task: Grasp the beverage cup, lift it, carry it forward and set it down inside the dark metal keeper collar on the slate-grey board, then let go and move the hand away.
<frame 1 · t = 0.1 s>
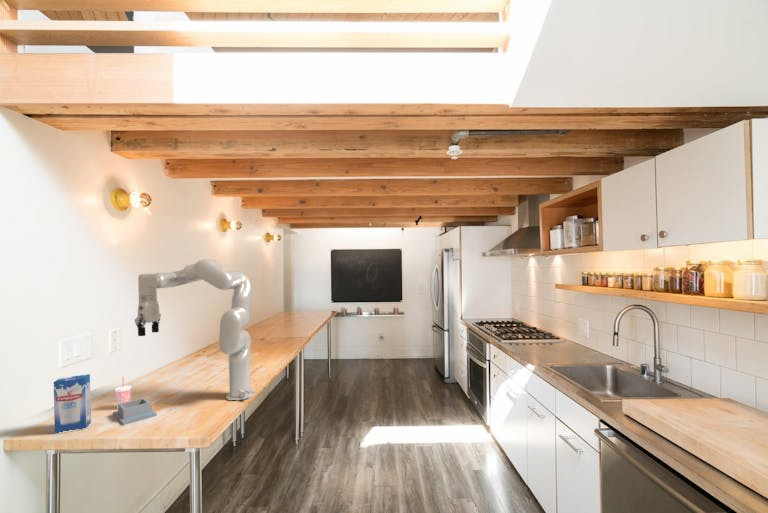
hand: (148, 334, 183), 31 cm above the table, tool pointing down, fingers open, 9 cm apart
beverage cup: (123, 408, 171), on the table
keeper board: (134, 414, 161), on the table
blue white food package: (73, 428, 150), on the table
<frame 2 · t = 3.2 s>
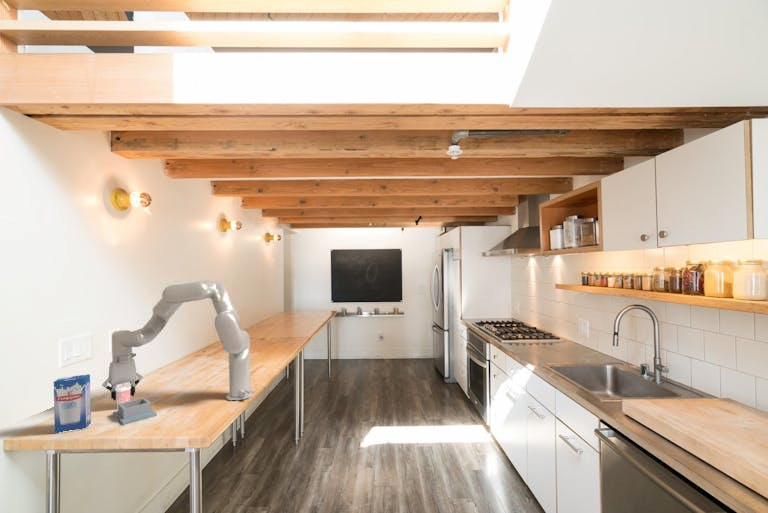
hand: (123, 397, 171), 5 cm above the table, tool pointing down, fingers closed on beverage cup, 6 cm apart
beverage cup: (123, 407, 171), on the table, touching gripper
everything else where it was.
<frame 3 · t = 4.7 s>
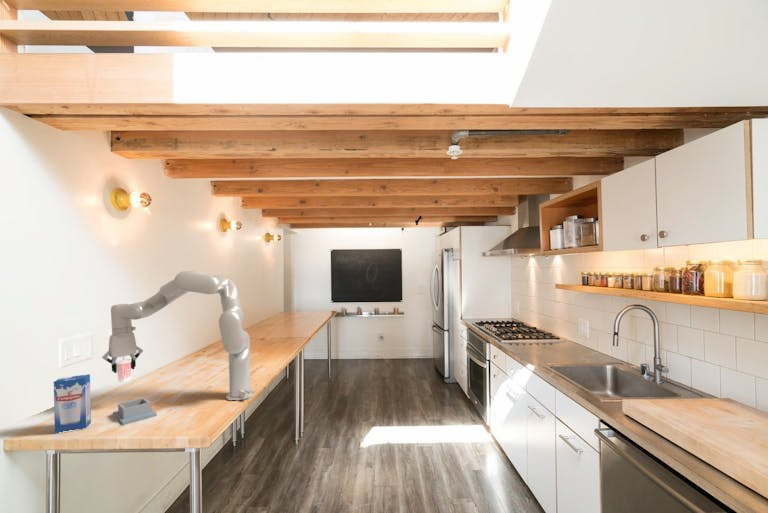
hand: (124, 370, 172), 17 cm above the table, tool pointing down, fingers closed on beverage cup, 6 cm apart
beverage cup: (124, 380, 172), point 12 cm above the table, touching gripper
everything else where it was.
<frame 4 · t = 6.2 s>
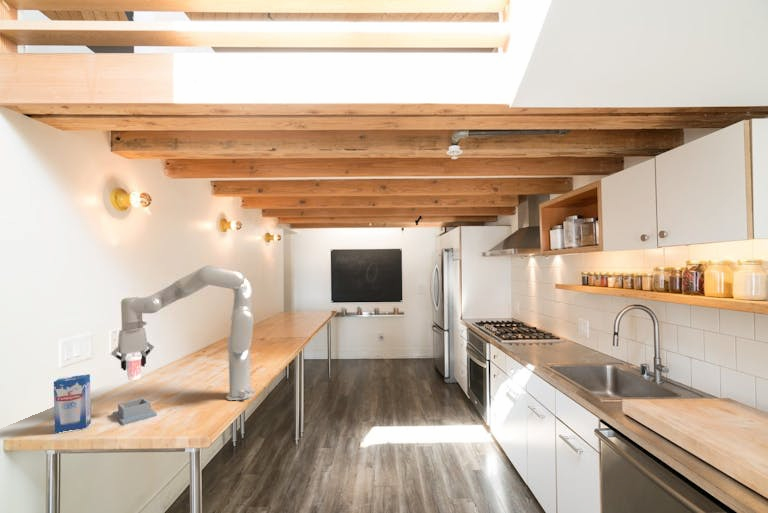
hand: (133, 367, 162), 20 cm above the table, tool pointing down, fingers closed on beverage cup, 6 cm apart
beverage cup: (134, 378, 162), point 15 cm above the table, touching gripper
everything else where it was.
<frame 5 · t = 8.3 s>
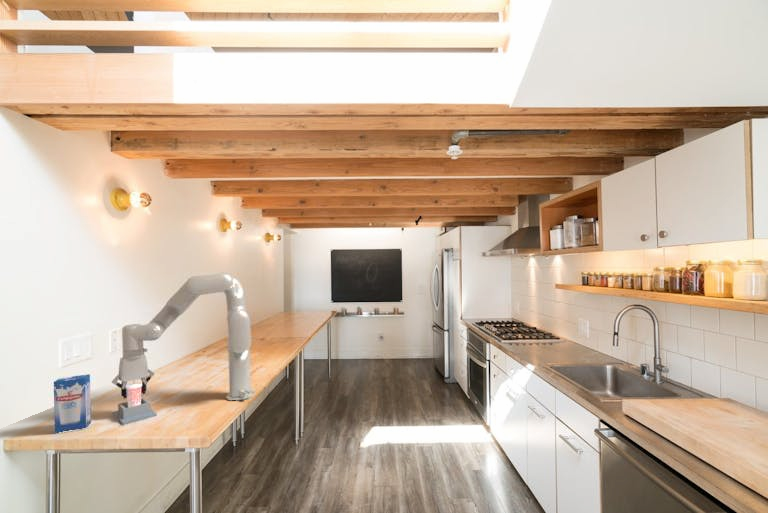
hand: (134, 394, 162), 9 cm above the table, tool pointing down, fingers closed on beverage cup, 6 cm apart
beverage cup: (134, 406, 162), point 4 cm above the table, touching gripper
everything else where it was.
when the fingers open (7 cm above the table, at t = 9.6 s): beverage cup drops 1 cm, resting on keeper board.
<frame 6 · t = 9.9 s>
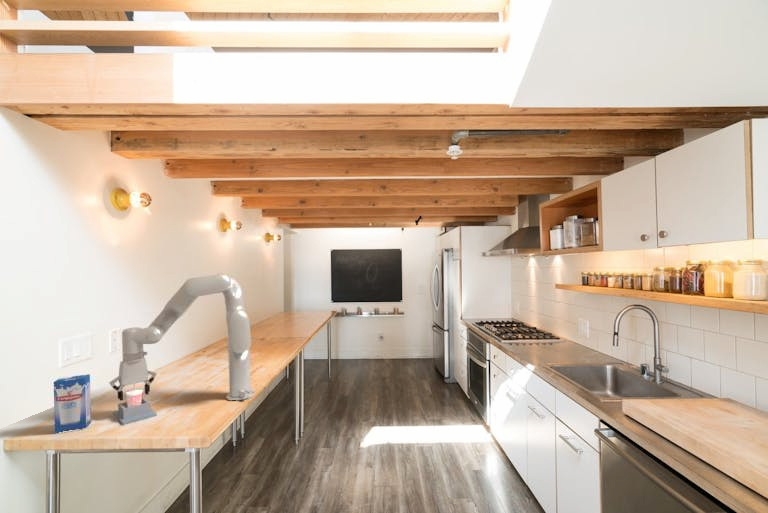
hand: (134, 396, 162), 8 cm above the table, tool pointing down, fingers open, 9 cm apart
beverage cup: (134, 413, 161), point 1 cm above the table, touching keeper board
everything else where it was.
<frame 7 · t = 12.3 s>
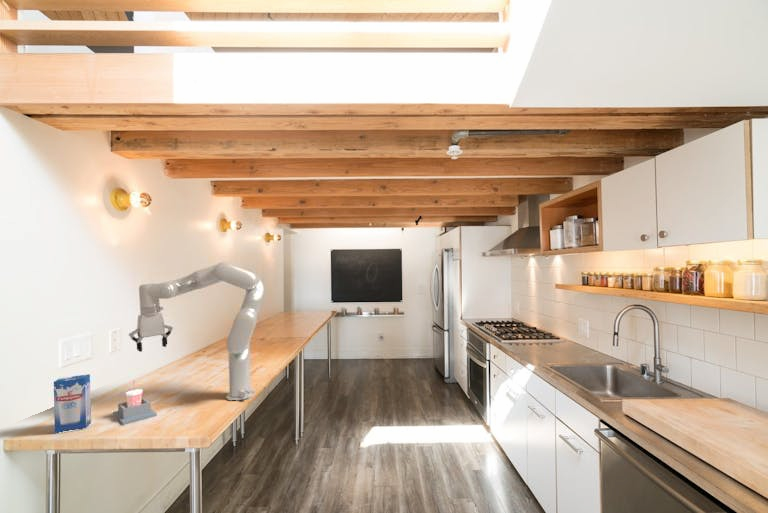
hand: (152, 348, 170), 27 cm above the table, tool pointing down, fingers open, 9 cm apart
nothing on the table moved.
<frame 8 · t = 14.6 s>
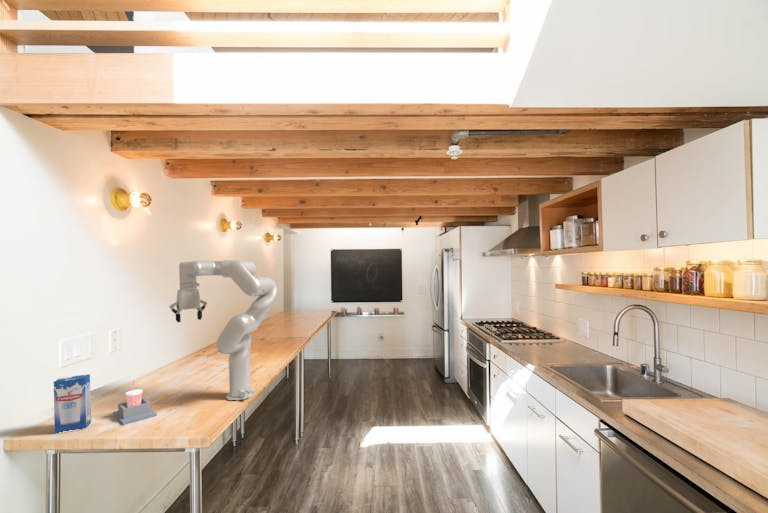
hand: (189, 320, 187), 36 cm above the table, tool pointing down, fingers open, 9 cm apart
nothing on the table moved.
at the end: beverage cup 0.1 cm off-centre on the keeper board, point 0.8 cm above the keeper board's base; beverage cup tilted 0°; the gripper is holding nothing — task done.
